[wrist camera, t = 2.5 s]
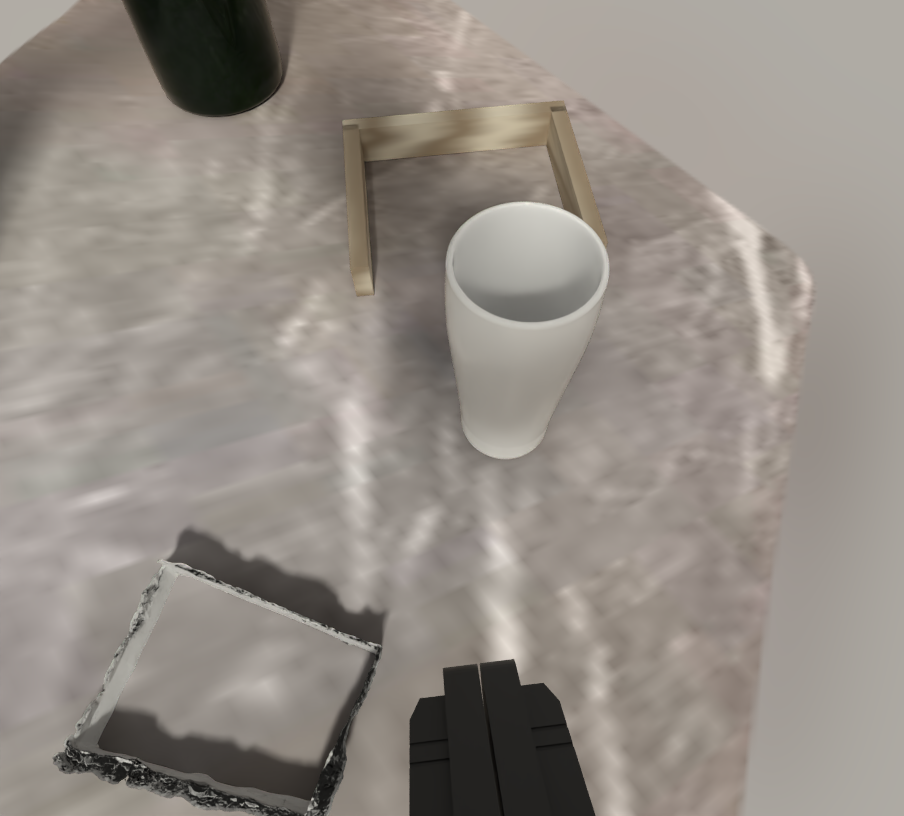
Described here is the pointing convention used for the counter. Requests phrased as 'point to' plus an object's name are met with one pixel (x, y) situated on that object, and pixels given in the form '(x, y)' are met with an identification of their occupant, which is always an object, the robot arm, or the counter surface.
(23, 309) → the counter surface
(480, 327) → the drinking glass
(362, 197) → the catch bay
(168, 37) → the beer bottle
